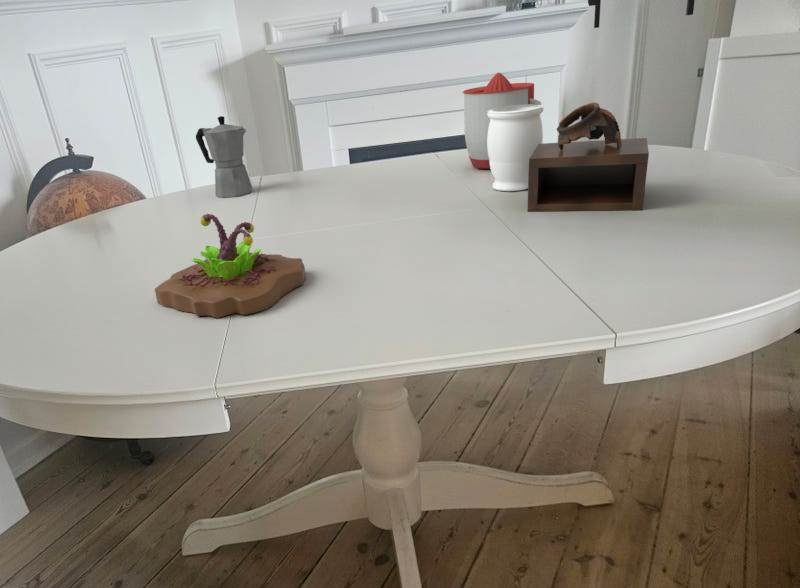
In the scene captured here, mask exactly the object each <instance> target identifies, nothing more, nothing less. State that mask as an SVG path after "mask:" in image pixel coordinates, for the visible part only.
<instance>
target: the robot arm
mask: <svg viewBox="0 0 800 588" xmlns="http://www.w3.org/2000/svg"><path fill="white" fill-rule="evenodd" d="M686 2H687V3H686V9H685V16H692V15H694V9H695V2H696V1H695V0H687V1H686ZM601 3H602V2H601V0H587V4H588V7H594V22H593V29H598V28H600V21H601V20H600V19H601V18H600V17H601Z"/></svg>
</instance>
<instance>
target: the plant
mask: <svg viewBox="0 0 800 588" xmlns="http://www.w3.org/2000/svg"><path fill="white" fill-rule="evenodd" d="M211 222H213V223H214V225H215V227H216V230H217V232H218V238H219V244H220V246H219V248H218V247H217V246H213V245H212V246H211V245H205V246H204V251H199V255H201V256H202V257H204V258H205V259H204V260H202V259H200V258H190V260H191V261H192V262H194V264H192V265H189V266H188V267H186V268H184V269H181V270H179V271H177V272H175V273H173V274H171V276H170V278H168V279H166V280H164V281H163V282H162V283H160V284H159V285H158V286H157V287H155V288H154V293H155V297H156V302H157V304H160V305H161V306H162V307H167V308H173V309H175V310H177V311H180V312H185V313H192V314H195V315H196V317H205V316H206V317H207V316H208V317H212V318H214V319H219V318H223V317H226V316H231V315H234V314H239V315H242V316H247V315H251V314H255V313H259V312H262V311H264V310H267V309H269V308H271V307H273V306H274V305H275V304H276V303H277V302H278V301H279V300H280V299H281V298H282V297H283V296H284V295H286V294H288V293H290V292H291V291H292V290H294V289H297V288H299V287H301V286H302V285H303V284H304V283H305V280H306V277H307V275H306V268H305V264H304V263H303V258H301V257H298V258H297V257H295V258H294V257H287V256H284V255H282V254H265V253H262V248H257V249H256V250H254V251H253V252H250V251H251V250H250V249H251V247H252V246H253V245H252V244H253V242H254V239H253V237H252V235H251V233H253V232H254V230H255V226H254V224H252V223H250V222H249V221H248V222H246V221H244V222H241V223H239V224H237V225H236V227H235V228H234V230H233V231H231V233H230V234H229V236H228V235H227V233H226V230H225V228H224V225H223V224H222V223H221V222H220V220H219V219H218V217H217V216H216V215H214V214H212V213H206V214H203V215H202V216H201V217H200V225H201V226H203V227H207V226H209V225H210V224H211ZM243 228H244V229H243ZM240 234H243V241H241V242H239V244H238V245H237V238H238V235H240Z"/></svg>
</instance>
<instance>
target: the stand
mask: <svg viewBox="0 0 800 588" xmlns="http://www.w3.org/2000/svg"><path fill="white" fill-rule="evenodd" d="M621 143H622V146H621V148H620V149H617V143H610V144H605V139H603V140H601V139H600V140H581V141H571V143H569V144H563V150H560V148H559V145H558V142H547V143H542V144H538V146H537V147H536V149H535V150H534V152H533V154H532V155H531V157H530V158H529V178H528V189H527V212H528V213H529V212H531V213H532V212H591V211H592V212H597V211H601V212H602V211H604V212H605V211H643V210H644V200H645V190H646V182H647V174H648V164H649V156H650V152H649V145H648V144H649V143H648V138H647V137H641V138H639V137H638V138H637V137H636V138H621Z"/></svg>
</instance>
